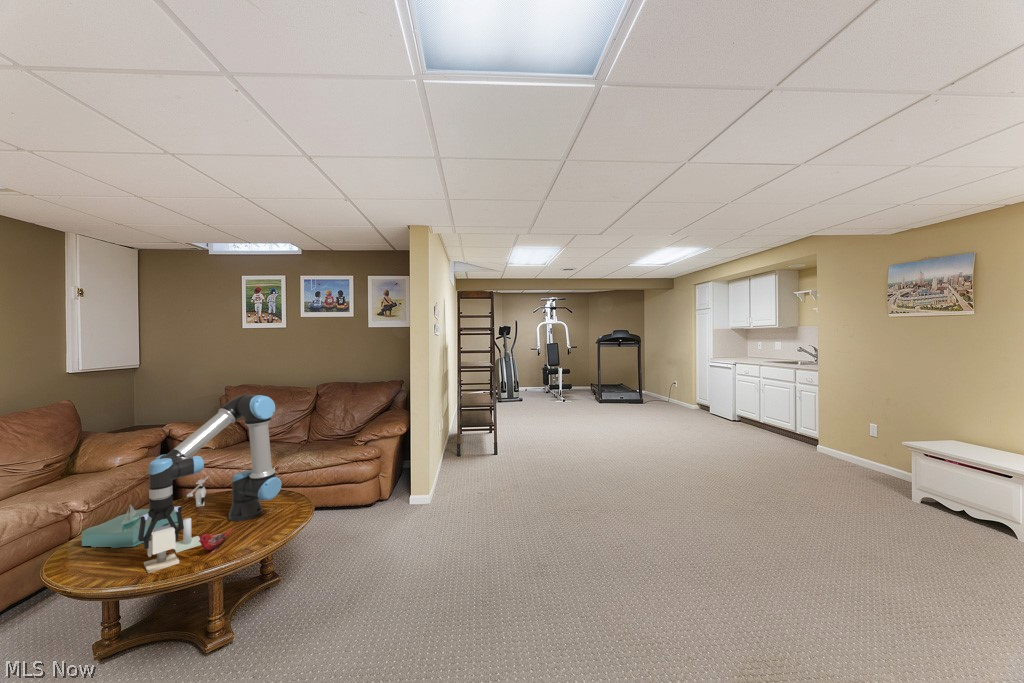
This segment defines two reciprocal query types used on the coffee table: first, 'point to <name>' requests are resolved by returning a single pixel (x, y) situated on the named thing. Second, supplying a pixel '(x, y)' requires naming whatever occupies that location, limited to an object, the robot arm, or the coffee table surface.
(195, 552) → the coffee table surface
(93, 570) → the coffee table surface
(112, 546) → the sailboat water diorama
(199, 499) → the cricket player figurine
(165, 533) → the white drawer box
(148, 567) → the post
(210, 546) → the decorative bird figurine
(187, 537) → the post
